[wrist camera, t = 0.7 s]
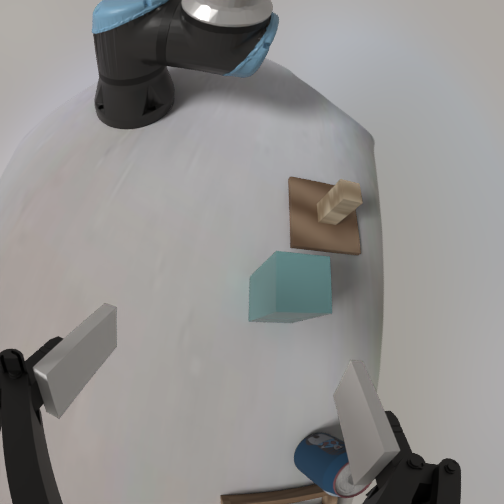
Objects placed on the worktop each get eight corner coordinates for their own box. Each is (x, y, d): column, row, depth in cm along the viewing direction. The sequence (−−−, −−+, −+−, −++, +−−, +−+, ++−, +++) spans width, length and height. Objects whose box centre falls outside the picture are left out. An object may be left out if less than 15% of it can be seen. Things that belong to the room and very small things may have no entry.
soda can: (309, 477, 33) (350, 509, 22) (281, 455, 33) (317, 487, 22) (341, 446, 35) (388, 468, 24) (315, 422, 36) (361, 442, 25)
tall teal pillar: (249, 276, 40) (276, 251, 30) (291, 279, 42) (329, 256, 31) (248, 321, 38) (275, 311, 28) (291, 322, 40) (332, 313, 29)
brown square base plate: (288, 179, 47) (309, 147, 39) (349, 192, 50) (377, 166, 41) (290, 247, 43) (316, 224, 35) (357, 255, 46) (390, 236, 38)
